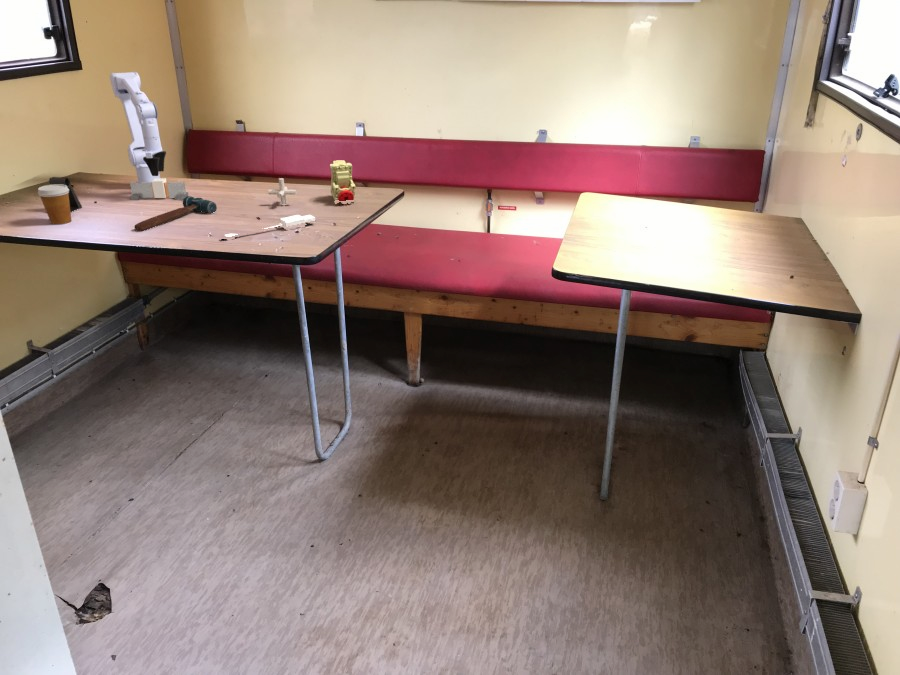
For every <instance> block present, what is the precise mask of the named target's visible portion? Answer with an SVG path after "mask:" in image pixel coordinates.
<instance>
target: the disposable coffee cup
mask: <svg viewBox="0 0 900 675" xmlns="http://www.w3.org/2000/svg"><path fill="white" fill-rule="evenodd" d="M37 195H38V196H39V198H40V200H41V202H42V204H43V207H44V209H45V212H46V214H47V216H48V219H49V222H50V224H52V225H65V223H66V224H68V223H71V222H72V216H71V213H72V212H70V203H69V189H68V187H67V186H66V185H63V184H54V185H50V184H46V185H42V186H39V187H38V189H37Z"/></svg>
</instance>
